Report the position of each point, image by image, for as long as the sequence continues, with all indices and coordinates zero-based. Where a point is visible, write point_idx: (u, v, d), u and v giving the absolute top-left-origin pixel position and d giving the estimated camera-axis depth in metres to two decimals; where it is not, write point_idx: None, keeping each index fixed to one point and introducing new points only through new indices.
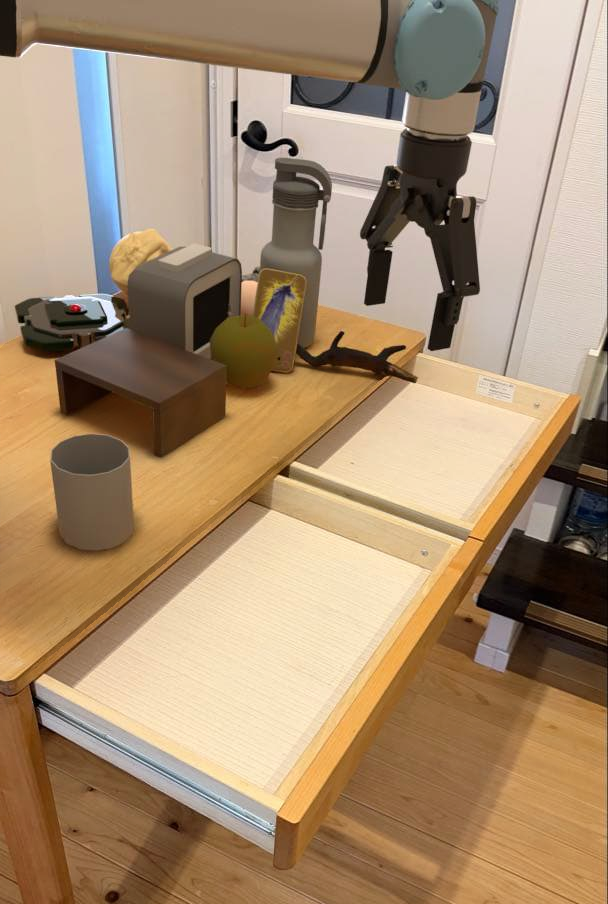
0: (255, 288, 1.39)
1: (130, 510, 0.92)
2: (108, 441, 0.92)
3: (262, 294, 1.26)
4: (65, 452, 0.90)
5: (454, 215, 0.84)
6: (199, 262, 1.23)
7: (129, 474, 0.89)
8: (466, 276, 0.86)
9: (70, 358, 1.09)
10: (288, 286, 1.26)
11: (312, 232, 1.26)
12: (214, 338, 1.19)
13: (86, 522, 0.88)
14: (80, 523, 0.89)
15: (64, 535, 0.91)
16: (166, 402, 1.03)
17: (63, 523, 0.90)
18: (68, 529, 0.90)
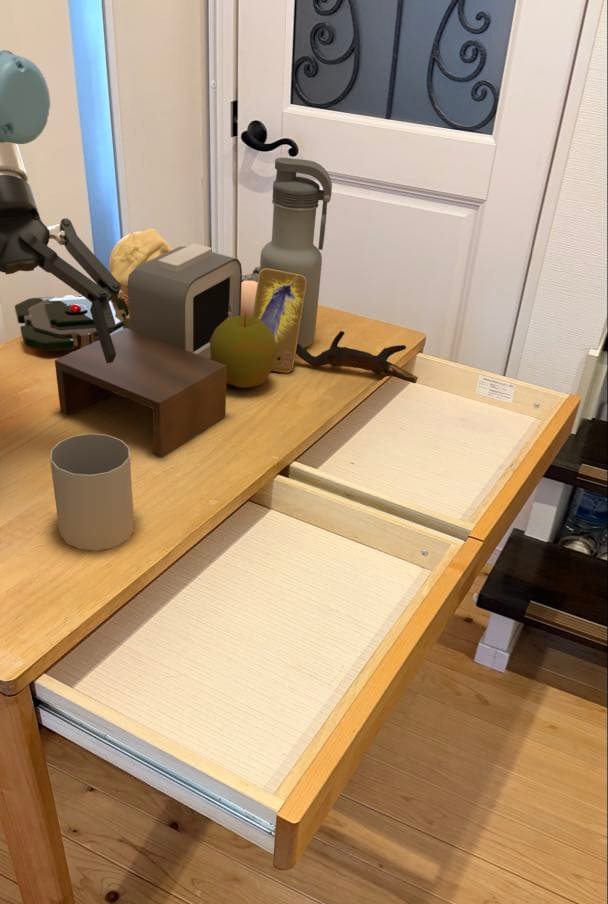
0: (255, 288, 1.39)
1: (130, 510, 0.92)
2: (108, 441, 0.92)
3: (262, 294, 1.26)
4: (65, 452, 0.90)
5: (72, 231, 0.93)
6: (199, 262, 1.23)
7: (129, 474, 0.89)
8: None
9: (70, 358, 1.09)
10: (288, 286, 1.26)
11: (312, 232, 1.26)
12: (214, 338, 1.19)
13: (86, 522, 0.88)
14: (80, 523, 0.89)
15: (64, 535, 0.91)
16: (166, 402, 1.03)
17: (63, 523, 0.90)
18: (68, 529, 0.90)
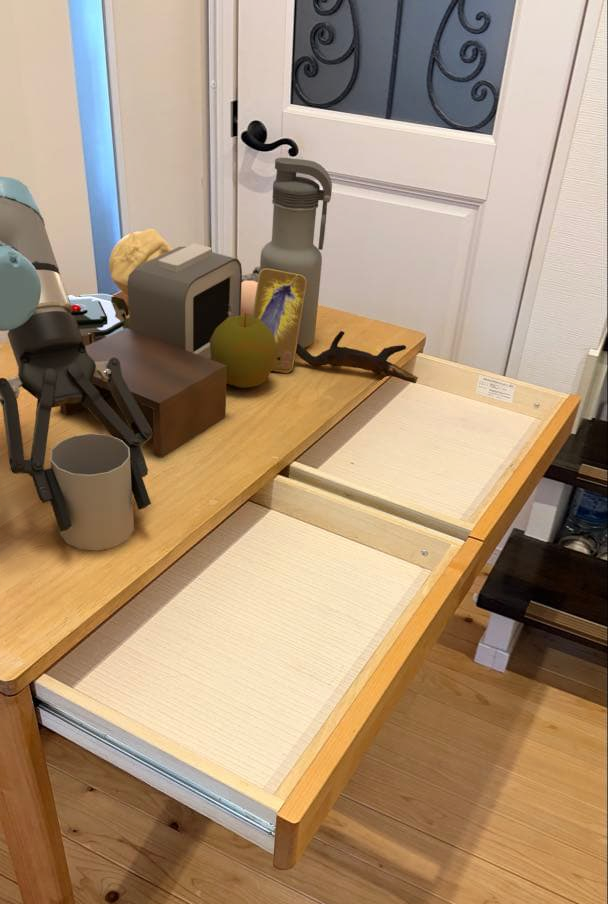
0: (255, 288, 1.39)
1: (130, 510, 0.92)
2: (108, 441, 0.92)
3: (262, 294, 1.26)
4: (65, 452, 0.91)
5: (118, 371, 0.92)
6: (199, 262, 1.23)
7: (129, 474, 0.89)
8: None
9: None
10: (288, 286, 1.26)
11: (312, 232, 1.26)
12: (214, 338, 1.19)
13: (86, 522, 0.88)
14: (80, 523, 0.89)
15: (64, 535, 0.91)
16: (166, 402, 1.03)
17: None
18: (68, 529, 0.90)
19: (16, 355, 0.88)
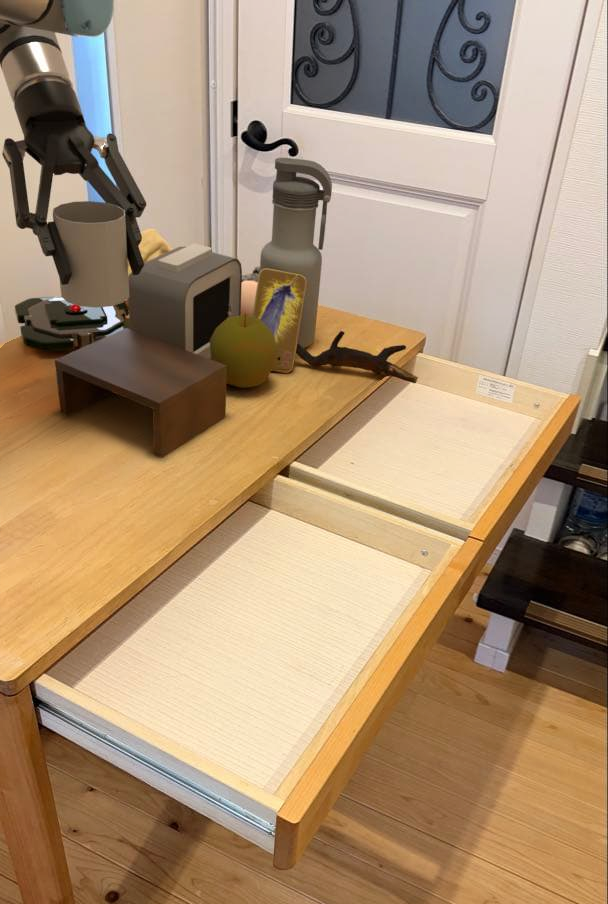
0: (255, 288, 1.39)
1: (125, 272, 1.00)
2: (105, 209, 1.00)
3: (262, 294, 1.26)
4: (66, 217, 0.99)
5: (115, 146, 1.00)
6: (199, 262, 1.23)
7: (124, 233, 0.98)
8: None
9: (70, 358, 1.09)
10: (288, 286, 1.26)
11: (312, 232, 1.26)
12: (214, 338, 1.19)
13: (85, 276, 0.97)
14: (80, 276, 0.97)
15: (65, 294, 1.00)
16: (166, 402, 1.03)
17: None
18: (69, 285, 0.99)
19: (22, 122, 0.97)
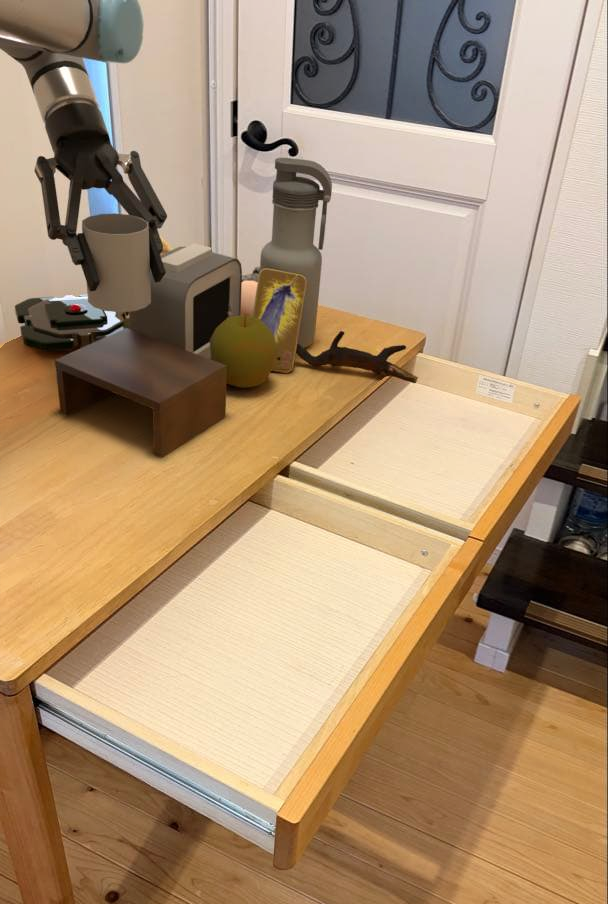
0: (255, 288, 1.39)
1: (148, 279, 1.08)
2: (129, 221, 1.08)
3: (262, 294, 1.26)
4: (93, 228, 1.07)
5: (137, 162, 1.08)
6: (199, 262, 1.23)
7: (148, 243, 1.05)
8: None
9: (70, 358, 1.09)
10: (288, 286, 1.26)
11: (312, 232, 1.26)
12: (214, 338, 1.19)
13: (112, 283, 1.05)
14: (106, 283, 1.05)
15: (92, 300, 1.07)
16: (166, 402, 1.03)
17: None
18: (96, 292, 1.06)
19: (52, 141, 1.04)
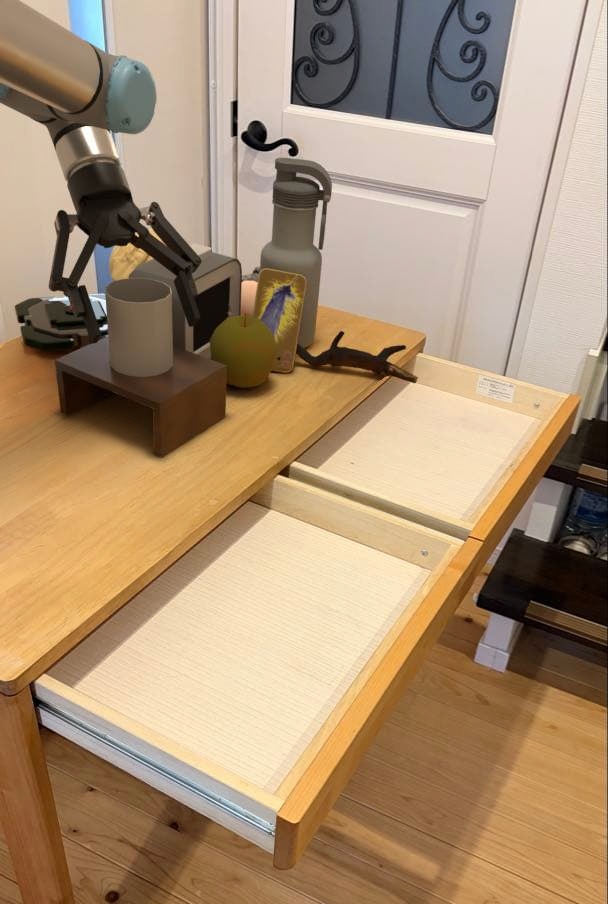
0: (255, 288, 1.39)
1: (170, 344, 1.08)
2: (152, 285, 1.08)
3: (262, 294, 1.26)
4: (116, 293, 1.06)
5: (160, 213, 1.07)
6: None
7: (171, 309, 1.05)
8: None
9: (70, 358, 1.09)
10: (288, 286, 1.26)
11: (312, 232, 1.26)
12: (214, 338, 1.19)
13: (135, 349, 1.04)
14: (129, 349, 1.05)
15: (114, 364, 1.07)
16: (166, 402, 1.03)
17: (114, 352, 1.06)
18: (118, 357, 1.06)
19: (75, 200, 1.03)
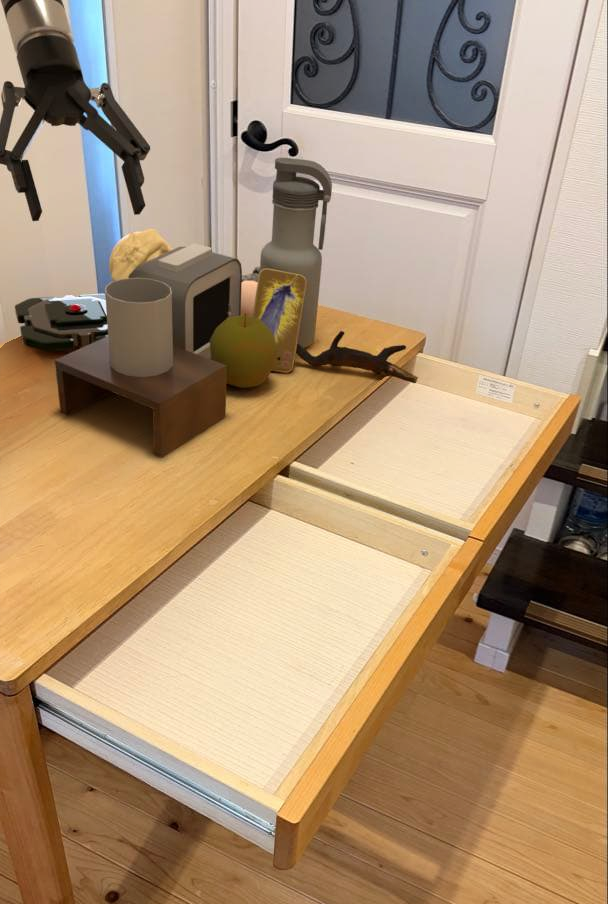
0: (255, 288, 1.39)
1: (170, 344, 1.08)
2: (152, 285, 1.08)
3: (262, 294, 1.26)
4: (116, 293, 1.06)
5: (110, 95, 1.07)
6: (199, 262, 1.23)
7: (171, 309, 1.05)
8: None
9: (70, 358, 1.09)
10: (288, 286, 1.26)
11: (312, 232, 1.26)
12: (214, 338, 1.19)
13: (135, 349, 1.04)
14: (129, 349, 1.05)
15: (114, 364, 1.07)
16: (166, 402, 1.03)
17: (114, 352, 1.06)
18: (118, 357, 1.06)
19: (23, 73, 1.03)
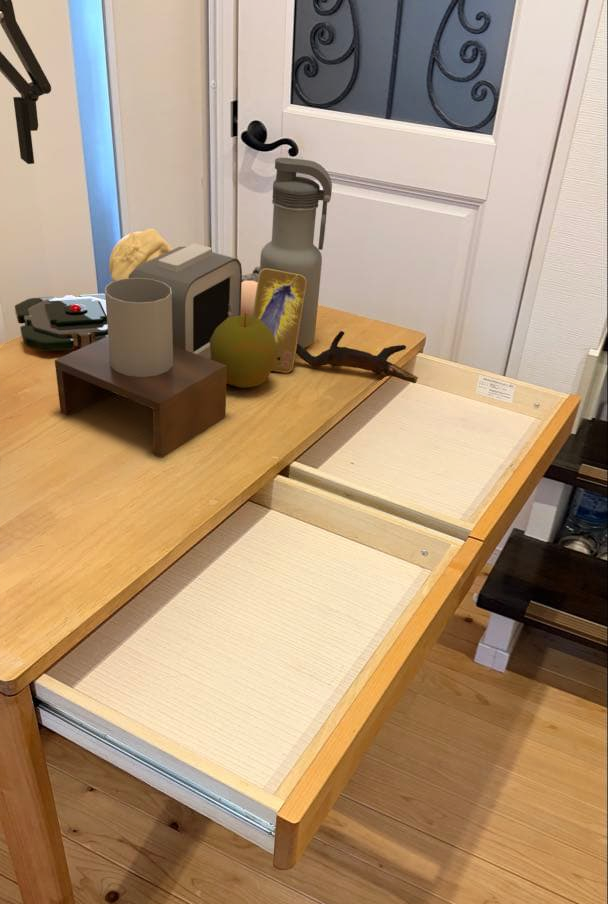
0: (255, 288, 1.39)
1: (170, 344, 1.08)
2: (152, 285, 1.08)
3: (262, 294, 1.26)
4: (116, 293, 1.06)
5: (11, 14, 0.87)
6: (199, 262, 1.23)
7: (171, 309, 1.05)
8: None
9: (70, 358, 1.09)
10: (288, 286, 1.26)
11: (312, 232, 1.26)
12: (214, 338, 1.19)
13: (135, 349, 1.04)
14: (129, 349, 1.05)
15: (114, 364, 1.07)
16: (166, 402, 1.03)
17: (114, 352, 1.06)
18: (118, 357, 1.06)
19: None
